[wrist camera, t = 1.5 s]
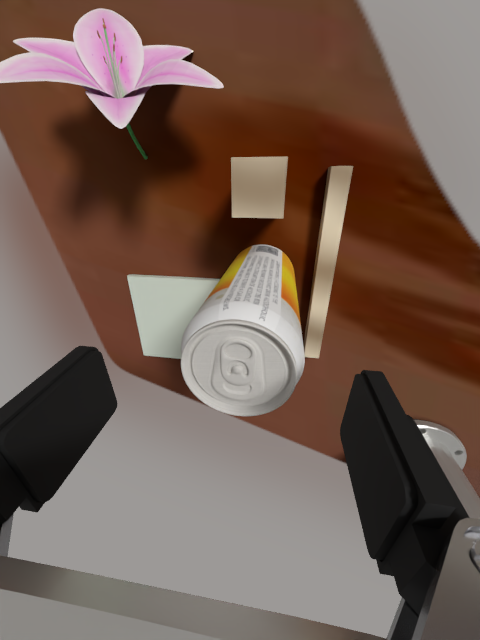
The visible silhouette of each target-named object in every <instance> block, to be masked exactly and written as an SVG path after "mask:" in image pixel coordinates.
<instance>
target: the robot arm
mask: <svg viewBox="0 0 480 640" xmlns="http://www.w3.org/2000/svg"><path fill="white" fill-rule="evenodd" d="M116 408H117V400H116V397H115V394H114V391H113V387H112V384H111V381H110V378H109V375H108V372H107V369H106V366H105V363H104V359H103V356H102V354H101V352H99V351H98V349H97V348H95V347H87V346H79V347H77V348H75V349H74V350H73V351H71V352H70V353H69V354H68V355H66V356H65V357H64V358H63V359H62V360H60V361H59V362H58V363H56V364H55V365H54V366H53V367H52V368H50V369H49V370H48V371H46V372H45V373H44V374H43V375H42V376H40V377H39V378H38V379H36V380H35V381H34V382H33V383H31V384H30V385H29V386H28V387H26V388H25V389H24V390H23V391H21V392H20V393H19V394H18V395H17V396H15V397H14V398H13V399H11V400H10V401H9V402H8V403H6V404H5V405H4V406H3V407H2V408H0V640H480V498H479V496H478V495H477V493H476V492H475V490H474V489H473V487H472V485H471V484H470V482H469V481H468V479H467V478H466V476H465V474H464V473H463V471H462V469H463V467H464V465H465V463H466V457H467V454H466V450H465V448H464V446H463V444H462V443H461V441H460V440H459V439H458V437H457V436H456V435H455V434H454V433H453V432H451V431H450V430H449V429H447V428H445V427H443V426H441V425H439V424H436V423H432V422H429V421H422V420H413V418H412V417H410V416H409V415H406V414H405V412H404V410H403V408H402V407H401V405H400V403H399V401H398V399H397V397H396V396H395V394H394V392H393V390H392V388H391V386H390V385H389V383H388V381H387V379H386V377H385V375H384V374H383V373H382V372H380V371H368V370H363V371H362V372H361V374H356V375H355V378H354V381H353V385H352V388H351V392H350V395H349V399H348V403H347V406H346V410H345V413H344V417H343V420H342V424H341V428H340V436H341V441H342V445H343V449H344V453H345V457H346V462H347V466H348V470H349V474H350V478H351V482H352V486H353V491H354V495H355V499H356V503H357V507H358V512H359V516H360V520H361V524H362V528H363V532H364V537H365V541H366V545H367V549H368V552H369V555H370V557H371V558H372V559H376V560H377V564H378V568H379V572H380V574H386V575H391V576H394V578H395V581H396V585H397V588H398V592H399V594H400V595H401V596H402V599H401V601H400V604H399V607H398V610H397V612H396V615H395V618H394V620H393V623H392V625H391V628H390V631H389V633H388V636H387V638H386V639H385V638H381V637H378V636H375V635H371V634H367V633H362V632H358V631H354V630H349V629H345V628H341V627H337V626H333V625H328V624H324V623H320V622H316V621H311V620H307V619H303V618H298V617H294V616H290V615H285V614H280V613H276V612H271V611H266V610H261V609H256V608H252V607H247V606H243V605H238V604H233V603H228V602H224V601H219V600H214V599H210V598H205V597H200V596H195V595H191V594H186V593H181V592H176V591H171V590H167V589H162V588H157V587H152V586H148V585H142V584H138V583H133V582H128V581H123V580H118V579H113V578H108V577H104V576H99V575H94V574H89V573H85V572H80V571H74V570H70V569H65V568H60V567H55V566H50V565H45V564H40V563H35V562H30V561H25V560H20V559H15V558H10V557H7V555H8V548H9V542H10V535H11V527H12V520H13V513H14V512H15V511H16V509H17V508H18V507H19V506H20V508H21V509H22V510H28V511H33V512H38V511H39V510H40V508H41V507H42V506H43V504H44V503H45V502H46V501H48V500H50V499H51V498H52V497H53V496H54V494H55V493H56V491H57V490H58V489H59V487H60V486H61V485H62V483H63V482H64V480H65V479H66V478H67V476H68V475H69V474H70V472H71V471H72V470H73V468H74V467H75V465H76V464H77V463H78V461H79V460H80V458H81V457H82V456H83V454H84V453H85V452H86V450H87V449H88V447H89V446H90V445H91V443H92V442H93V440H94V439H95V438H96V436H97V435H98V434H99V432H100V431H101V430H102V428H103V427H104V426H105V424H106V423H107V421H108V420H109V419H110V417H111V416H112V415H113V413H114V412H115V410H116Z"/></svg>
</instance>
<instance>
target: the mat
mask: <svg viewBox="0 0 480 640" xmlns="http://www.w3.org/2000/svg"><path fill="white" fill-rule="evenodd" d="M127 278H128V283H129V288H130V292H131V297H132V302H133V306H134V311H135V316H136V321H137V325H138V330H139V335H140V339H141V344H142V349H143V354H144V355H146V356H156V357H166V358H177V359H181V356H182V355H181V342H182V337H183V334H184V331H185V329H186V327H187V326H188V324H189V323H190V322H191V320H192V319H193V317H194V316H195V314H196V313H197V312H198V310H199V309H200V307H201V306H202V305H203V303H204V302H205V300H206V299H207V298H208V296H209V295H210V293H211V292H212V290H213V289H214V288H215V286H216V285H217V283H218V282H219V281H220V279H214V278H194V277H174V276H154V275H135V274H130V275H128V276H127Z"/></svg>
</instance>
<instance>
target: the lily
mask: <svg viewBox="0 0 480 640" xmlns="http://www.w3.org/2000/svg"><path fill="white" fill-rule="evenodd" d="M73 38H74V42H70V41H65V40H60V39H49V38H22V39H16V40H14V41H13V42H14V43H16V44H18V45H19V46H21V47H23V48H24V49H26V50H28V51H30V52H29V53H25V54H20V55H16V56H13V57H11V58H9V59H6V60H4V61H2V62H0V83H8V82H23V81H54V82H66V83H72V84H77V85H81V86H82V87H84V88H85V89H87V90H88V91H89V92H88V91H85V92H86V94H87V95H88V97H89V98H90V99H91V101H92V102H93V103H94V104H95V105H96V107H97V108H98V109H99V110H100V111H101V112H102V113H103V114H104V116H105V117H106V118H107V119H108V120H109V121H110V122H111V123H112V124H113V125H114V126H116V127H118V128H120V129H122V128H124V127H127V129H128V131H129V133H130V135H131V138H132V139H133V141H134V143H135V144H136V146H137V148H138V149H139V151H140V152H141V154H142V155H143V157H144V159H147V158H148V157H147V155H146V154H145V152H144V151H143V149H142V147H141V146H140V144H139V142H138V141H137V139H136V137H135V135H134V133H133V131H132V128H131V126H130V123H129V121H130V120H131V118H132V117H133V115H134V113H135V112H136V110H137V108H138V107H139V105H140V103H141V101H142V99H143V97H144V95H145V93H146V92H147V91H148V90H149V89H150V88H151V86H152V85H160V84H180V85H192V86H200V87H208V88H224V87H223V84H222V83H221V82H220V81H219V80H218V79H216V78H215V77H214V76H212V75H211V74H209V73H208V72H207V71H205V70H203V69H202V68H200V67H198V66H196V65H194V64H192V63H190V62H187V61H184V60H181V59H183V58H184V57H186V56H187V55H189V54H191V53H192V52H194V51H193V50H190V49H189V48H185V47H180V46H170V45H150V46H142V41H141V39H140V37H139V35H138V33H137V31H136V30H135V28H134V27H133V26H132V25H131V24H130V23H129V22H128V21H127V20H126V19H124V18H123V17H122V16H121V15H119V14H117V13H116V12H114V11H111V10H107V9H95V10H92V11H90V12H88V13H86V14H85V15H84V16H83V17H81V18H80V19H79V21H78V22H77V24H76V25H75V28H74V33H73Z"/></svg>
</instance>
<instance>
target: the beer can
mask: <svg viewBox="0 0 480 640" xmlns="http://www.w3.org/2000/svg"><path fill="white" fill-rule="evenodd" d="M181 355H182V356H181V371H182V375H183V378H184V380H185V382H186V384H187V386H188V387H189V389H190V390H191V391H192V393H193V394H194V395H195V396H196V397H197V398H198V399H200V400H201V401H202V402H203V403H205V404H206V405H208V406H210V407H211V408H213V409H215V410H218V411H220V412H223V413H226V414H230V415H236V416H256V415H261V414H265V413H268V412H271V411H273V410H275V409H277V408H278V407H280V406H281V405H282V404H284V403H285V402H286V401H287V400H288V399H289V397H290V396H291V394H292V393H293V391H294V388H295V385H296V384H297V382H298V381H299V379H300V377H301V375H302V372H303V369H304V364H305V355H304V346H303V338H302V330H301V322H300V314H299V307H298V299H297V291H296V283H295V275H294V269H293V266H292V263H291V261H290V259H289V258H288V257H287V256H286V254H285V253H283V252H282V251H281V250H279V249H278V248H276V247H273V246H270V245H254V246H251V247H248V248H246V249H244V250H243V251H242V252H240V253H239V254H238V255H237V257H236V258H235V259H234V261H233V262H232V264H231V265H230V266H229V268H228V269H227V271H226V272H225V273H224V275H223V276H222V278H221V279H220V281H219V282H218V283H217V285H216V286H215V288H214V289H213V290H212V292H211V293H210V295H209V296H208V298H207V299H206V300H205V302H204V303H203V305H202V306H201V307H200V309H199V310H198V312H197V313H196V314H195V316H194V317H193V319H192V320H191V322H190V323H189V324H188V326H187V327H186V329H185V331H184V334H183V337H182V342H181Z"/></svg>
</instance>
